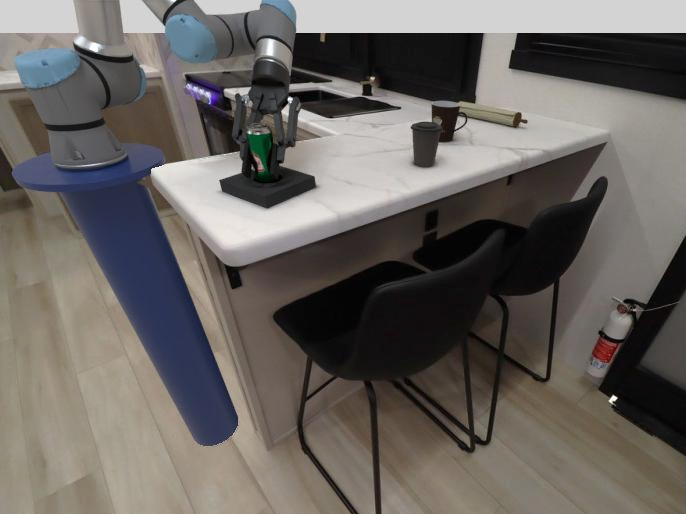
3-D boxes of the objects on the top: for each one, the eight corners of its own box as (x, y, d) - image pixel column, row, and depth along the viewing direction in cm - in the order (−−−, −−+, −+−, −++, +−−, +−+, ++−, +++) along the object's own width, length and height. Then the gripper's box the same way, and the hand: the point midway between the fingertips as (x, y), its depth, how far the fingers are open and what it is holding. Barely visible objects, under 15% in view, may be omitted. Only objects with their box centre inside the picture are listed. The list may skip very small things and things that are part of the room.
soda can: (252, 183, 82) (240, 124, 74) (273, 178, 85) (263, 121, 77) (263, 191, 79) (251, 130, 72) (285, 185, 82) (275, 126, 74)
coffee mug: (424, 136, 120) (426, 101, 113) (447, 134, 123) (451, 100, 116) (441, 147, 111) (445, 110, 105) (466, 144, 114) (471, 108, 108)
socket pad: (221, 191, 81) (218, 179, 79) (272, 173, 90) (270, 162, 88) (267, 208, 75) (264, 196, 73) (316, 187, 84) (314, 176, 83)
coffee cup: (445, 164, 99) (450, 124, 93) (424, 171, 95) (428, 129, 88) (423, 156, 104) (426, 117, 97) (402, 163, 99) (403, 122, 93)
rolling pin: (529, 128, 133) (533, 112, 130) (522, 131, 129) (525, 115, 126) (454, 112, 149) (455, 98, 146) (445, 114, 145) (447, 99, 142)
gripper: (318, 85, 83) (308, 186, 80) (237, 81, 84) (224, 181, 81) (310, 60, 76) (298, 170, 73) (221, 55, 76) (206, 164, 73)
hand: (259, 175), depth 77 cm, fingers closed on soda can, 5 cm apart
